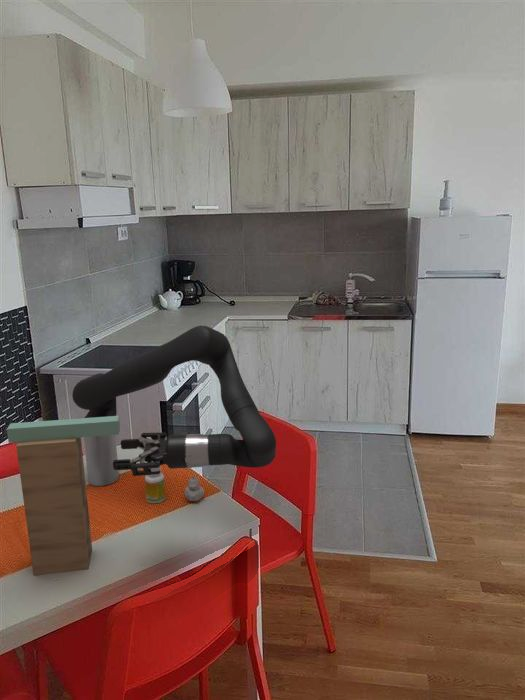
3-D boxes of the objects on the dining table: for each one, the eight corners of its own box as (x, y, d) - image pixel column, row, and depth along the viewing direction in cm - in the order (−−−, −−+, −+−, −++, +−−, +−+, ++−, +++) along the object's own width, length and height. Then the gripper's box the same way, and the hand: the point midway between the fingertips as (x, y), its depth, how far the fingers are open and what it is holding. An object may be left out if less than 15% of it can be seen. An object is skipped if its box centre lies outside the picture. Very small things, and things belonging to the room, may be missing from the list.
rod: (12, 436, 117) (10, 423, 116) (120, 428, 121) (118, 415, 120) (8, 442, 114) (6, 429, 113) (118, 434, 118) (117, 421, 117)
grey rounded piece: (183, 504, 149) (182, 479, 147) (187, 492, 155) (185, 467, 153) (202, 504, 149) (201, 479, 147) (205, 492, 155) (204, 467, 153)
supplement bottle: (161, 504, 149) (159, 473, 146) (143, 502, 150) (140, 471, 148) (168, 495, 154) (166, 464, 152) (150, 493, 155) (148, 462, 153)
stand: (40, 556, 127) (24, 432, 119) (92, 550, 129) (80, 428, 121) (33, 575, 120) (16, 445, 112) (88, 568, 122) (75, 441, 114)
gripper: (190, 421, 126) (121, 424, 125) (185, 453, 113) (108, 457, 112) (192, 448, 129) (125, 451, 128) (187, 483, 115) (112, 487, 115)
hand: (117, 454), depth 120 cm, fingers open, 8 cm apart
